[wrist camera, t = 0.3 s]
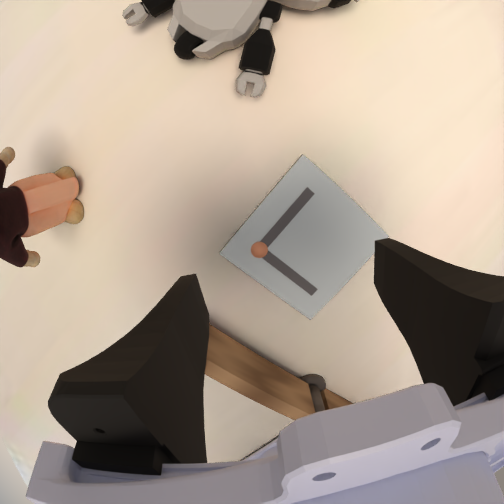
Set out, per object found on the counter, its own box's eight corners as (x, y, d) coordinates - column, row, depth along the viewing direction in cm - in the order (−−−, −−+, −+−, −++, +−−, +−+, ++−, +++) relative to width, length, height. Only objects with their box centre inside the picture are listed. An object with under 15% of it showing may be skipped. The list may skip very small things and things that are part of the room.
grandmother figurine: (102, 226, 22) (-3, 310, 10) (65, 242, 22) (-38, 325, 10) (67, 133, 19) (-63, 147, 7) (32, 155, 19) (-92, 186, 8)
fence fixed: (354, 429, 31) (366, 466, 26) (280, 394, 28) (286, 439, 23) (387, 404, 30) (404, 440, 24) (317, 362, 27) (331, 407, 21)
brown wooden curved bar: (322, 389, 27) (334, 429, 22) (310, 399, 27) (320, 439, 23) (200, 315, 24) (192, 356, 19) (189, 328, 24) (179, 370, 19)
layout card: (309, 318, 25) (310, 320, 25) (219, 252, 23) (219, 254, 22) (387, 235, 23) (389, 236, 22) (302, 154, 21) (303, 154, 20)
